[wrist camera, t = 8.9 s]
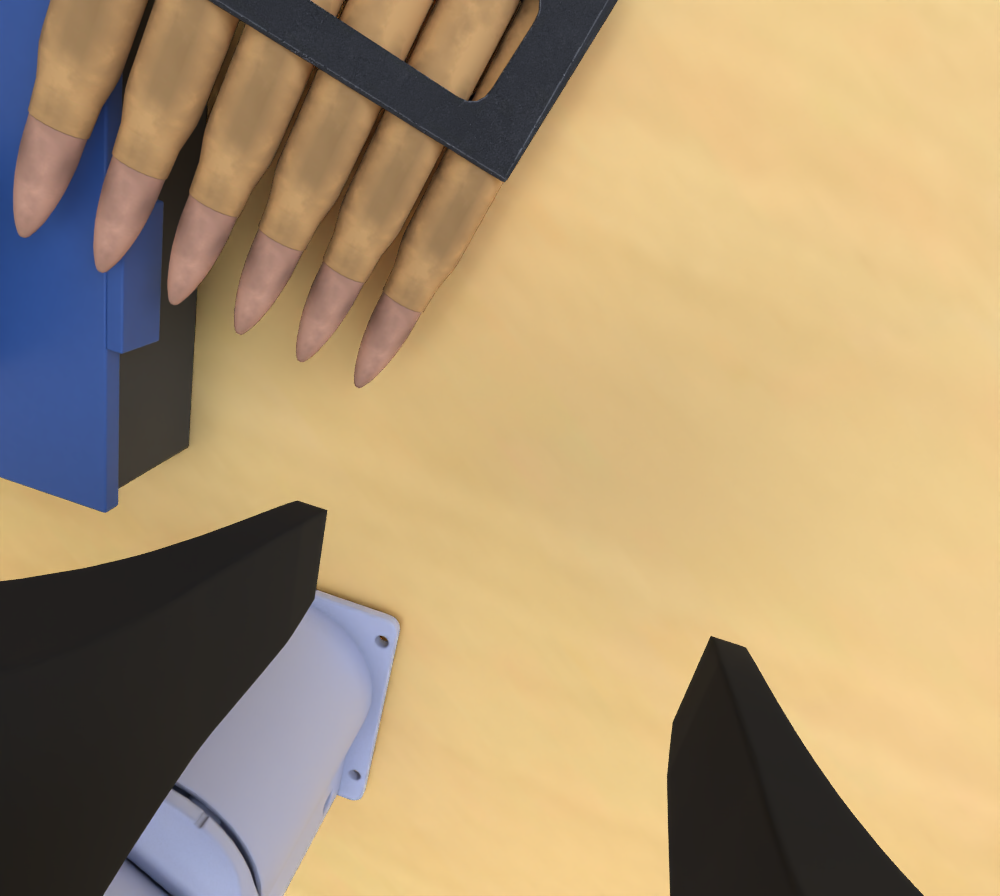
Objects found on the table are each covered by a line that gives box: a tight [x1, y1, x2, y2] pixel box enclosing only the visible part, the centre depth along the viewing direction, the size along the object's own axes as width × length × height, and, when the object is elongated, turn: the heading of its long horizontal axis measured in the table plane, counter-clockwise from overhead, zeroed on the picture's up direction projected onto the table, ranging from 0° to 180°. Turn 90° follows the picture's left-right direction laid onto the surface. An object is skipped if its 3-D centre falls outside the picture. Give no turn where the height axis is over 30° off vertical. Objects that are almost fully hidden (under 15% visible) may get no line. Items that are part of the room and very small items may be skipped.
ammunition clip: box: [13, 0, 618, 388], centre depth 17 cm, size 11×2×12 cm
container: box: [0, 0, 207, 513], centre depth 22 cm, size 15×12×5 cm
